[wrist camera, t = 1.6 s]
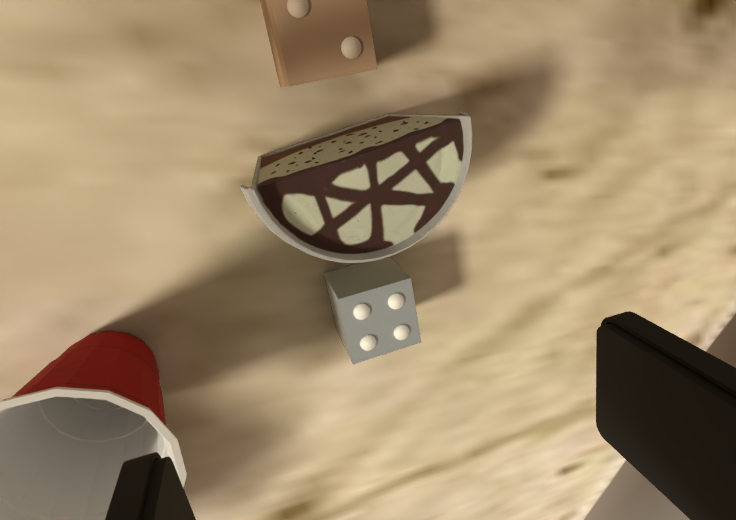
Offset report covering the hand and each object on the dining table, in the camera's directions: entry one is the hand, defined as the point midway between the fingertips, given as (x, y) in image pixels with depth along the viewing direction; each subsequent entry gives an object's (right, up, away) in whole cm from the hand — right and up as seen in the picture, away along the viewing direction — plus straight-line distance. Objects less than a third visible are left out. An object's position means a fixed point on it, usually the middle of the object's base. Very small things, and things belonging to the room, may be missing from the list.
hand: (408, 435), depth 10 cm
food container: (-3, +9, +23) cm, 25 cm away
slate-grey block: (-1, +1, +27) cm, 27 cm away
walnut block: (-4, +18, +20) cm, 27 cm away
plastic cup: (-18, -4, +23) cm, 30 cm away
